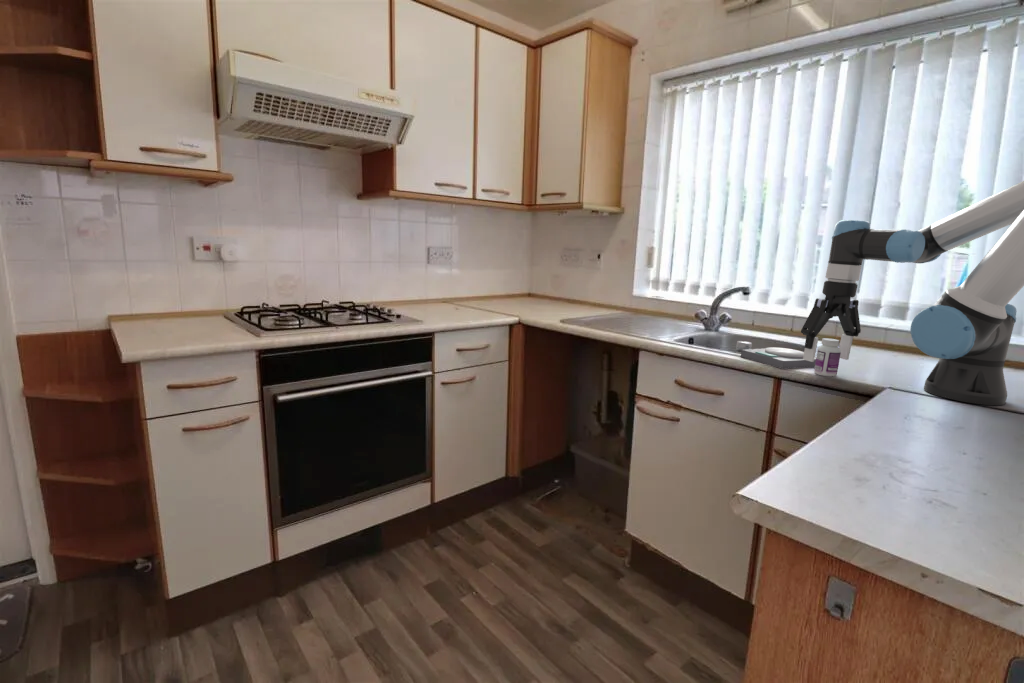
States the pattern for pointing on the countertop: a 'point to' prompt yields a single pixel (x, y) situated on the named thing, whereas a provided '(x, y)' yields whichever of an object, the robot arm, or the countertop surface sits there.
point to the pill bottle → (828, 358)
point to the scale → (778, 357)
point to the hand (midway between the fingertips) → (825, 359)
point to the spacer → (743, 345)
